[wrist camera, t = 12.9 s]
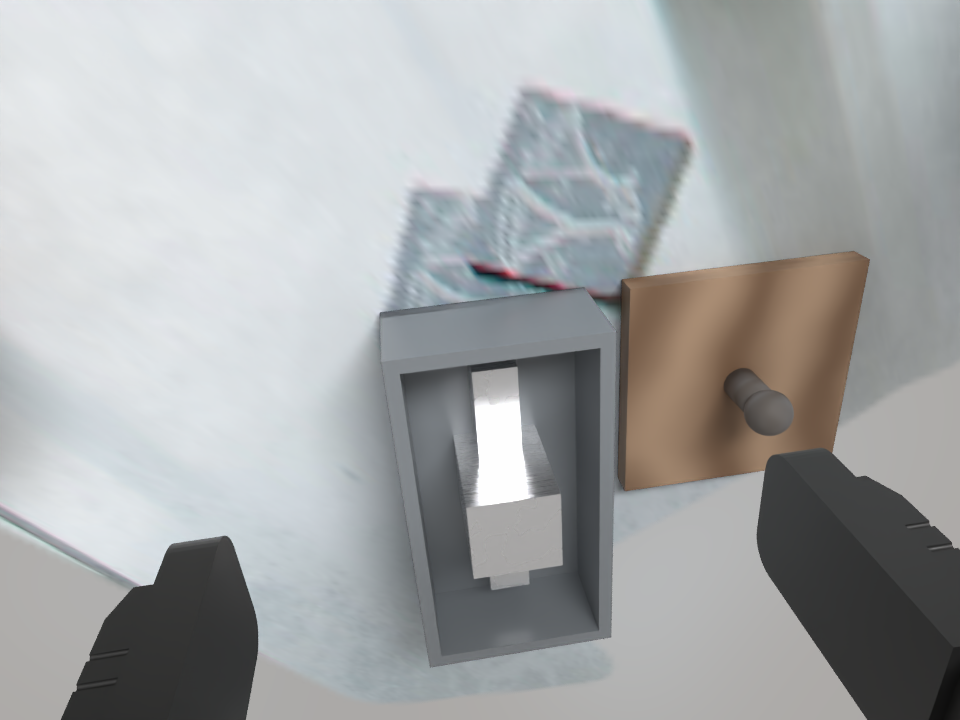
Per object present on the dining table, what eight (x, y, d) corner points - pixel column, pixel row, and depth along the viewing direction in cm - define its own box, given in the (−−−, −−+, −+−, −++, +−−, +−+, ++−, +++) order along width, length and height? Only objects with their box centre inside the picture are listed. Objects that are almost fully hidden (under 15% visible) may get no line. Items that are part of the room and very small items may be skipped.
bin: (380, 312, 39) (380, 361, 33) (584, 287, 40) (616, 331, 34) (424, 595, 49) (430, 667, 43) (585, 569, 50) (611, 637, 44)
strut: (444, 354, 39) (456, 418, 33) (531, 343, 40) (558, 404, 34) (467, 565, 47) (481, 647, 41) (540, 554, 47) (564, 634, 41)
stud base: (853, 251, 41) (929, 290, 35) (817, 447, 47) (876, 507, 42) (621, 279, 40) (662, 324, 34) (617, 477, 46) (651, 542, 41)
